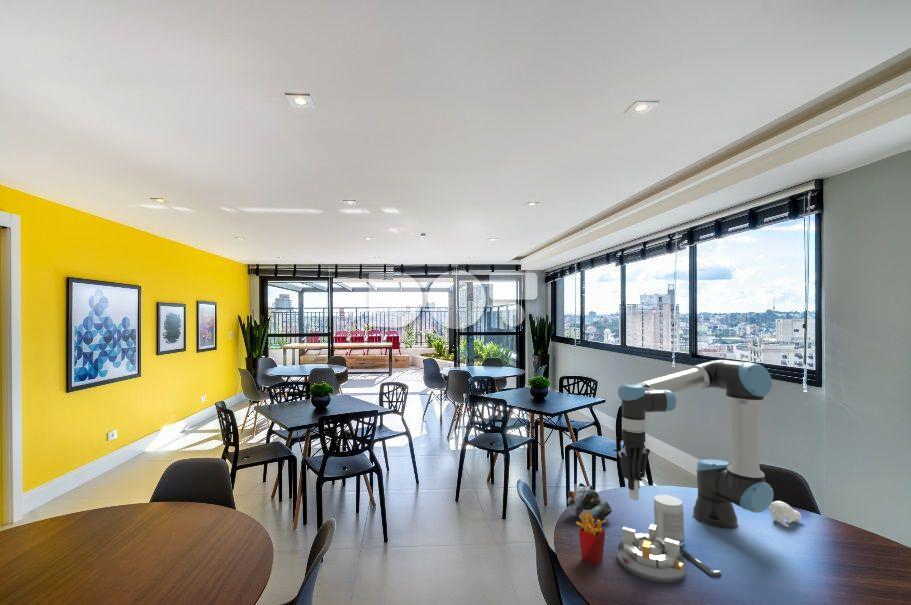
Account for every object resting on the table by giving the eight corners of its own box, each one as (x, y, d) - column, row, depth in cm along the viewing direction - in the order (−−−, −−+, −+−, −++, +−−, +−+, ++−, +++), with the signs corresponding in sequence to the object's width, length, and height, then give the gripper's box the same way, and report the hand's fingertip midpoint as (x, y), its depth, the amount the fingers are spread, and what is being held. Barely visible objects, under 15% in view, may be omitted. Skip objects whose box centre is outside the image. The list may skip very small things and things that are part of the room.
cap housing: (656, 544, 145) (656, 526, 146) (700, 579, 126) (699, 559, 126) (606, 549, 141) (605, 532, 142) (643, 586, 122) (642, 566, 122)
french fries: (606, 559, 136) (606, 514, 136) (594, 570, 130) (594, 522, 130) (582, 549, 142) (581, 505, 142) (570, 558, 136) (569, 513, 137)
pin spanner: (681, 554, 139) (681, 549, 139) (689, 553, 140) (689, 548, 140) (711, 577, 127) (711, 572, 127) (721, 576, 127) (720, 571, 128)
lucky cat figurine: (589, 530, 154) (571, 493, 159) (574, 528, 165) (557, 493, 169) (618, 512, 160) (600, 477, 164) (601, 511, 171) (585, 478, 175)
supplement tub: (689, 543, 146) (688, 501, 147) (675, 551, 141) (674, 508, 141) (663, 531, 154) (662, 492, 155) (649, 538, 149) (648, 498, 150)
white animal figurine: (767, 498, 164) (791, 498, 166) (766, 519, 163) (790, 520, 165) (782, 505, 157) (807, 505, 160) (781, 527, 157) (806, 527, 159)
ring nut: (655, 538, 143) (654, 521, 143) (688, 565, 128) (688, 545, 128) (615, 543, 140) (615, 525, 140) (644, 570, 125) (644, 550, 125)
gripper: (639, 425, 147) (639, 491, 146) (611, 428, 143) (611, 496, 142) (656, 431, 140) (656, 500, 139) (627, 434, 136) (627, 506, 135)
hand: (633, 498), depth 140 cm, fingers closed
